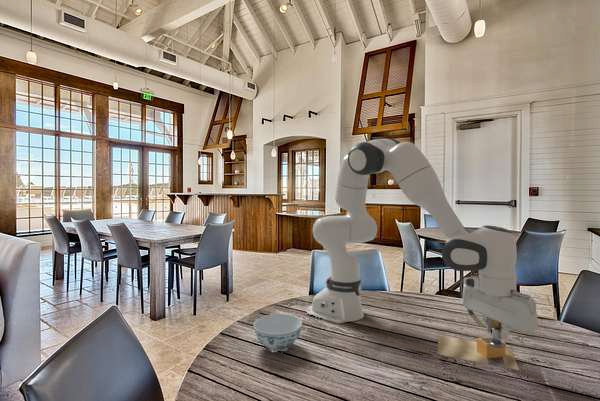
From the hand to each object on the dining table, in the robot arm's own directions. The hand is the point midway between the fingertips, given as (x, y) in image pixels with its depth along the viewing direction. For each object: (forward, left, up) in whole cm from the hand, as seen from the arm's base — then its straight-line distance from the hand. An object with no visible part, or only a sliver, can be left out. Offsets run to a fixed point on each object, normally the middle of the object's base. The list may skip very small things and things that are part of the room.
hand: (496, 335), depth 88 cm
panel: (-5, +5, -9) cm, 11 cm away
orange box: (-1, +5, -8) cm, 9 cm away
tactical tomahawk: (-2, +33, -9) cm, 34 cm away
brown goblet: (0, 0, -3) cm, 3 cm away
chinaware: (-60, -16, -9) cm, 63 cm away
